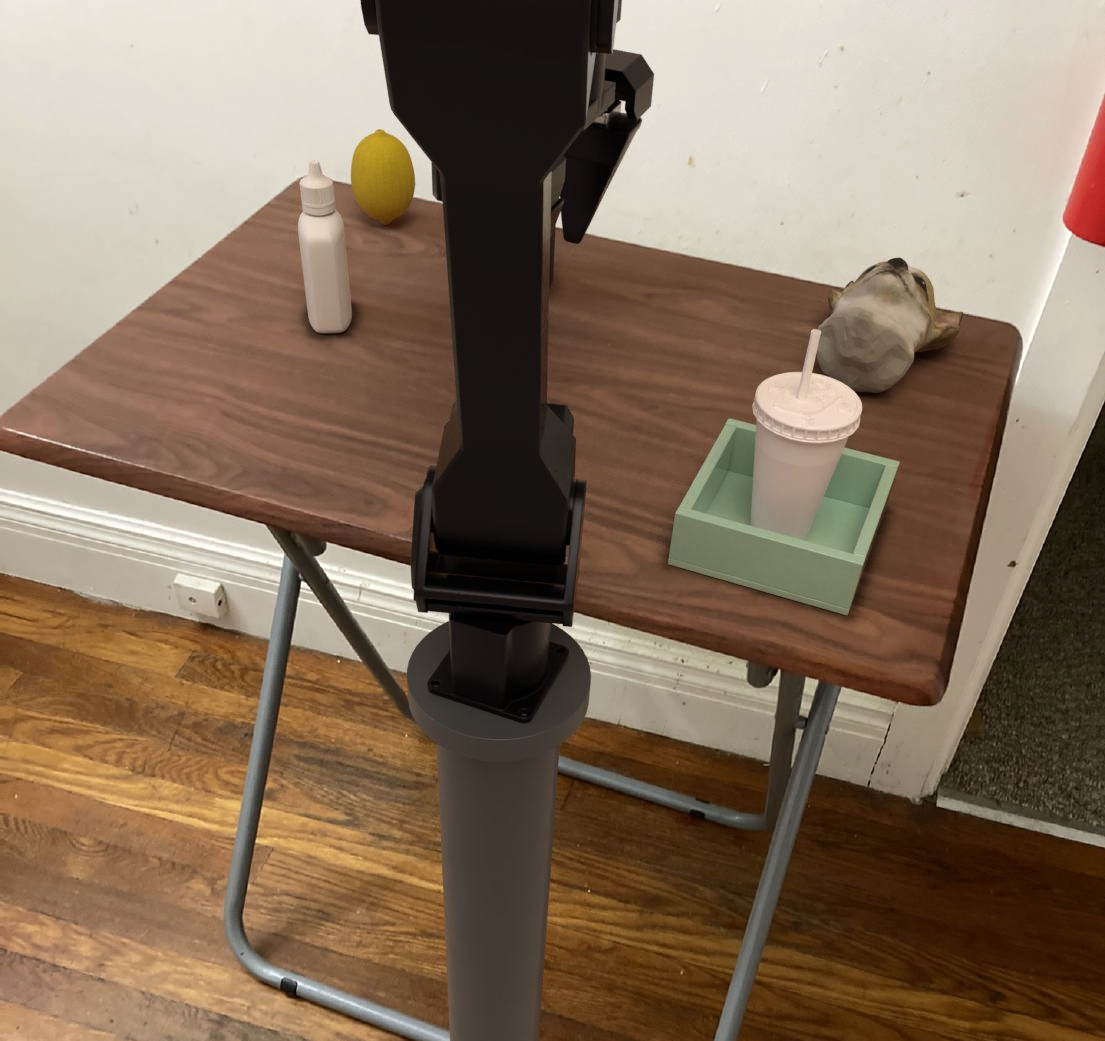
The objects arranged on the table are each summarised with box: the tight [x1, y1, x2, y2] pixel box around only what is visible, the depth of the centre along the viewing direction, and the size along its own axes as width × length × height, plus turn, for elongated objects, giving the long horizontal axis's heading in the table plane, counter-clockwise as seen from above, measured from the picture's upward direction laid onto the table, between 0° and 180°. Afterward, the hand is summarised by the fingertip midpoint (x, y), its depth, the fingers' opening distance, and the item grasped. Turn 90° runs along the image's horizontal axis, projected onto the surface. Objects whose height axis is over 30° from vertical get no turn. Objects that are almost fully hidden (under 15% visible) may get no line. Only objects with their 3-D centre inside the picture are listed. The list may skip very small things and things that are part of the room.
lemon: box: [350, 128, 416, 226], centre depth 101 cm, size 6×6×8 cm
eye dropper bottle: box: [297, 159, 353, 334], centre depth 88 cm, size 4×6×12 cm
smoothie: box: [750, 328, 863, 541], centre depth 70 cm, size 6×6×14 cm
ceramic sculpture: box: [816, 257, 964, 394], centre depth 89 cm, size 11×9×15 cm
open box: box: [667, 418, 901, 616], centre depth 74 cm, size 12×12×4 cm
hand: (544, 272), depth 72 cm, fingers open, 9 cm apart
